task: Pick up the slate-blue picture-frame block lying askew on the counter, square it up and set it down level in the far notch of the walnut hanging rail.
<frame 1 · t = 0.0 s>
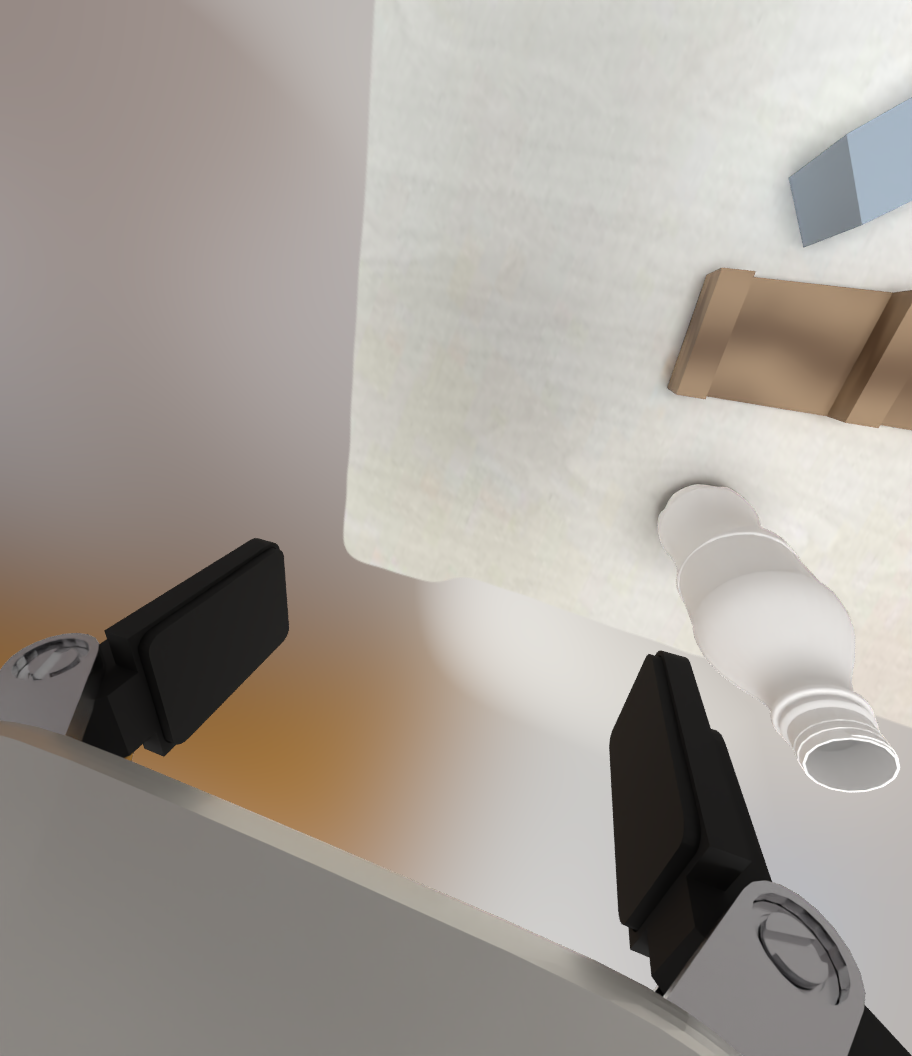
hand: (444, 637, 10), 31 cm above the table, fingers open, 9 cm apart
rail: (861, 359, 30), on the table
water bottle: (696, 513, 38), on the table
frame: (861, 179, 26), on the table
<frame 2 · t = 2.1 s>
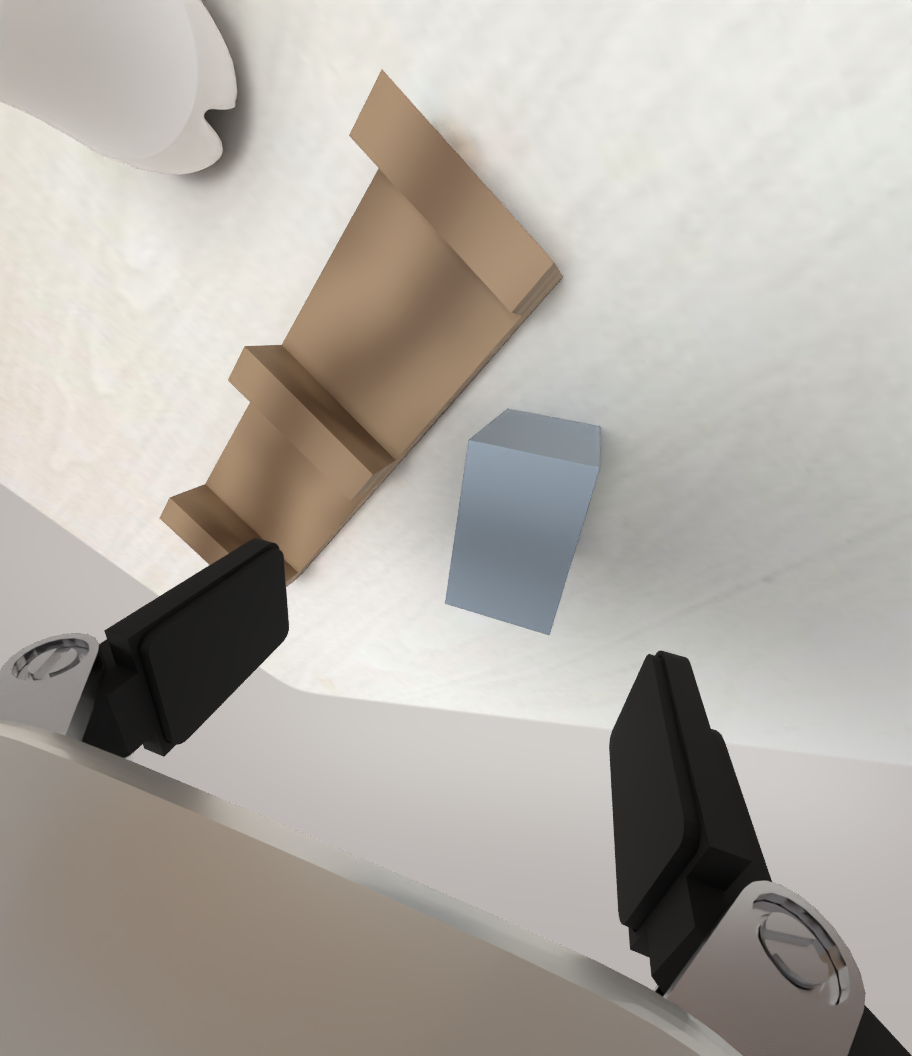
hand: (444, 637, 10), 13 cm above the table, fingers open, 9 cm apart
rail: (345, 413, 23), on the table
water bottle: (192, 92, 19), on the table
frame: (536, 485, 21), on the table
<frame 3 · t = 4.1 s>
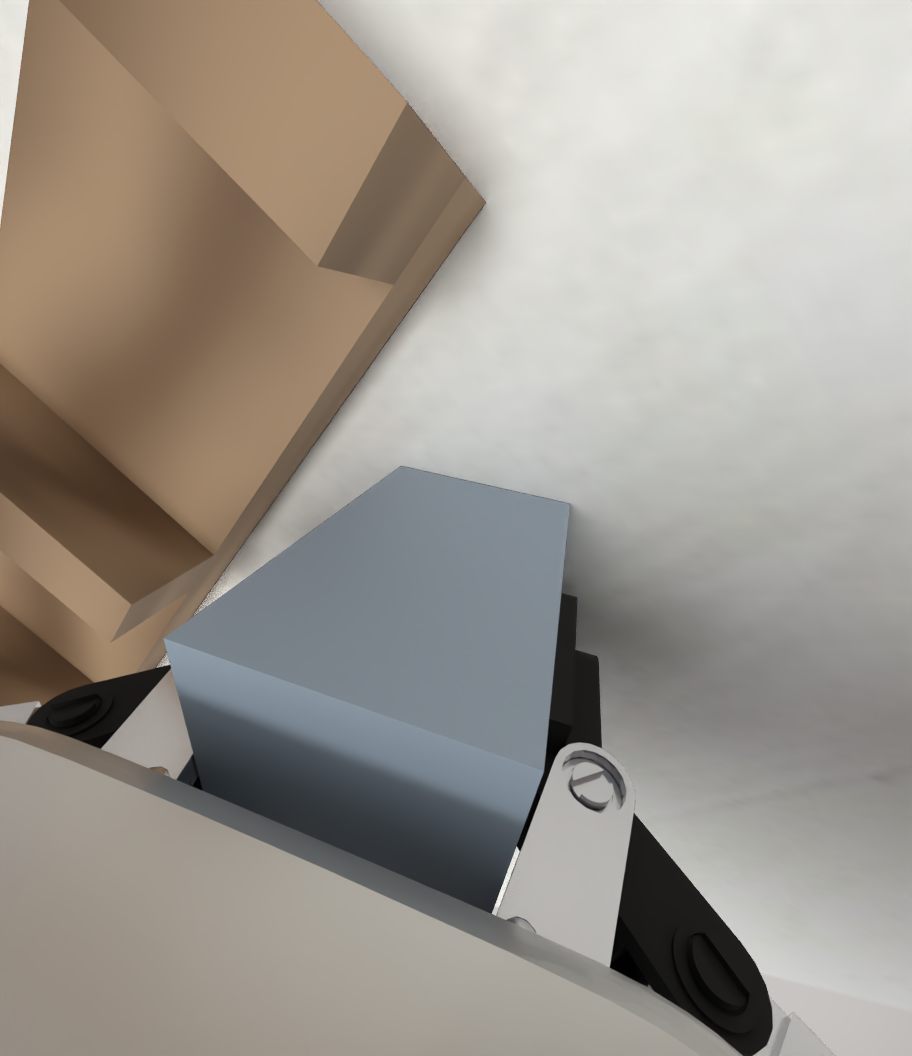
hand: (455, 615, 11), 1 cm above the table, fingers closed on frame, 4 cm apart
rail: (143, 464, 13), on the table
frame: (463, 596, 12), on the table, touching gripper
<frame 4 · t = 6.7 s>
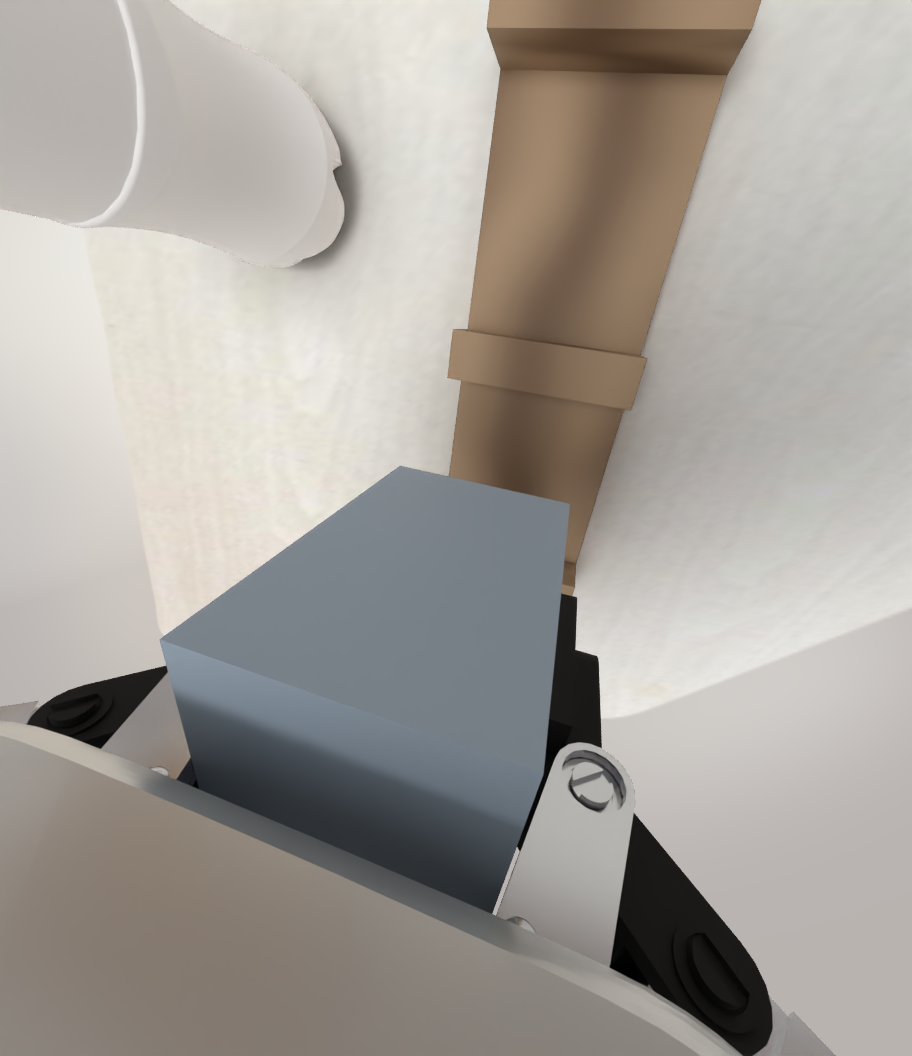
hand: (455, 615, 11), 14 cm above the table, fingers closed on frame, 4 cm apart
rail: (548, 362, 21), on the table
water bottle: (301, 192, 21), on the table
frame: (462, 596, 12), point 13 cm above the table, touching gripper
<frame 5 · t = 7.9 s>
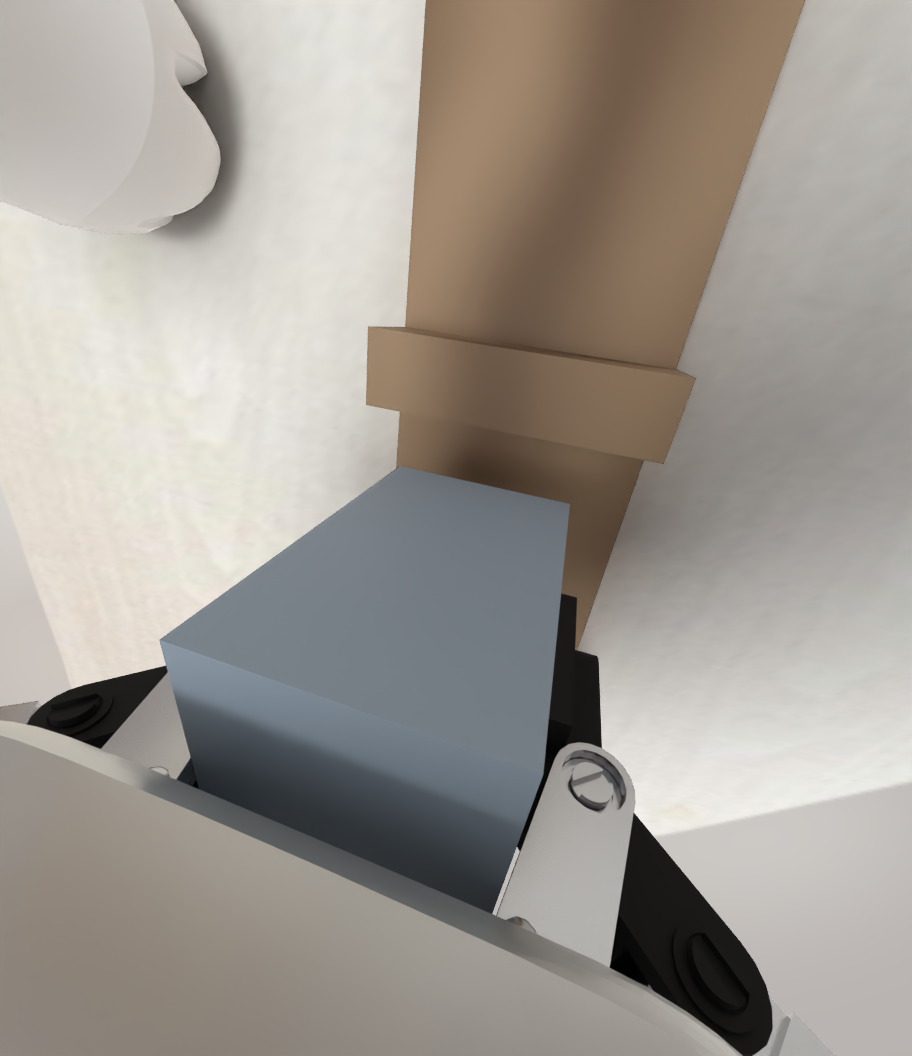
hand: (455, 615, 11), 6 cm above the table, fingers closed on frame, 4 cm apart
rail: (531, 377, 14), on the table
water bottle: (161, 122, 14), on the table
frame: (462, 596, 12), point 5 cm above the table, touching gripper
when the fingers open (4 cm above the table, at t = 9.2 s): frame drops 1 cm, resting on rail.
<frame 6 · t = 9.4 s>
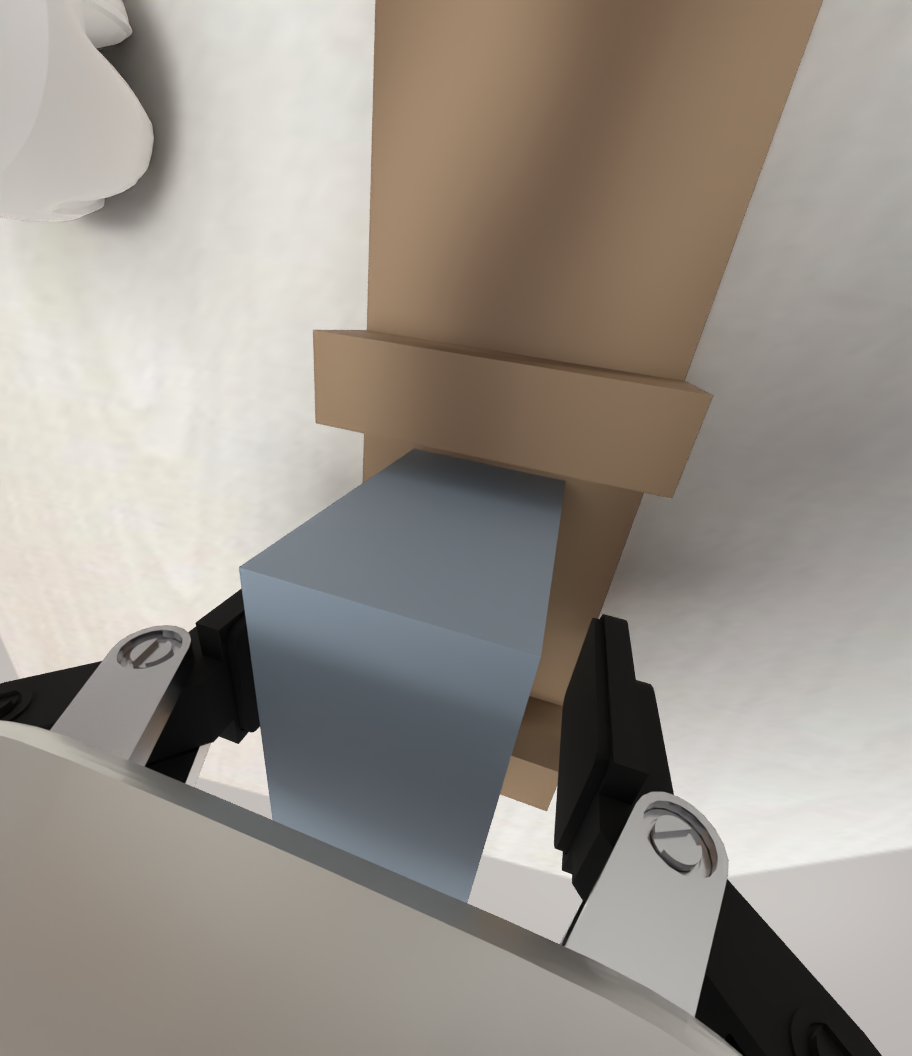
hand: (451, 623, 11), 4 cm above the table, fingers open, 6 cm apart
rail: (515, 388, 12), on the table
water bottle: (86, 92, 12), on the table
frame: (469, 568, 13), point 1 cm above the table, touching rail
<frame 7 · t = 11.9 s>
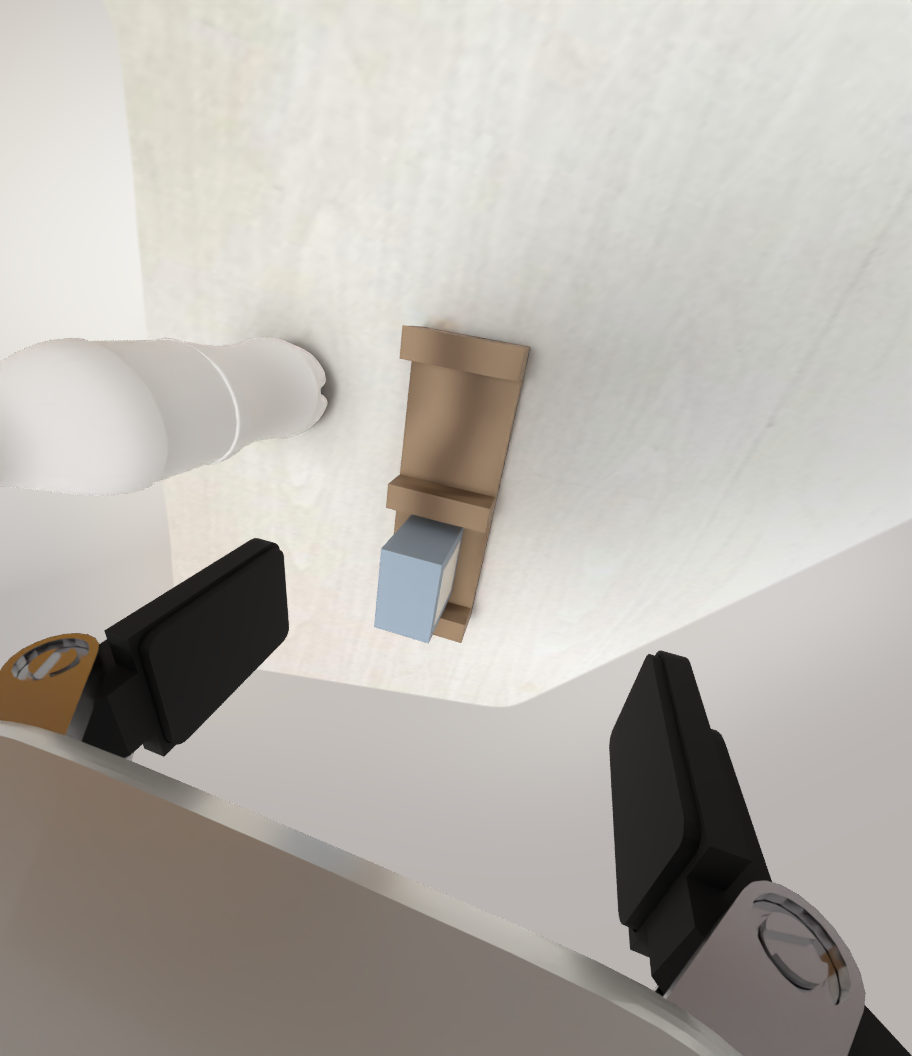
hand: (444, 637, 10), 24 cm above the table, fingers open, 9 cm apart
rail: (449, 491, 35), on the table
water bottle: (300, 384, 35), on the table
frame: (433, 553, 36), point 1 cm above the table, touching rail
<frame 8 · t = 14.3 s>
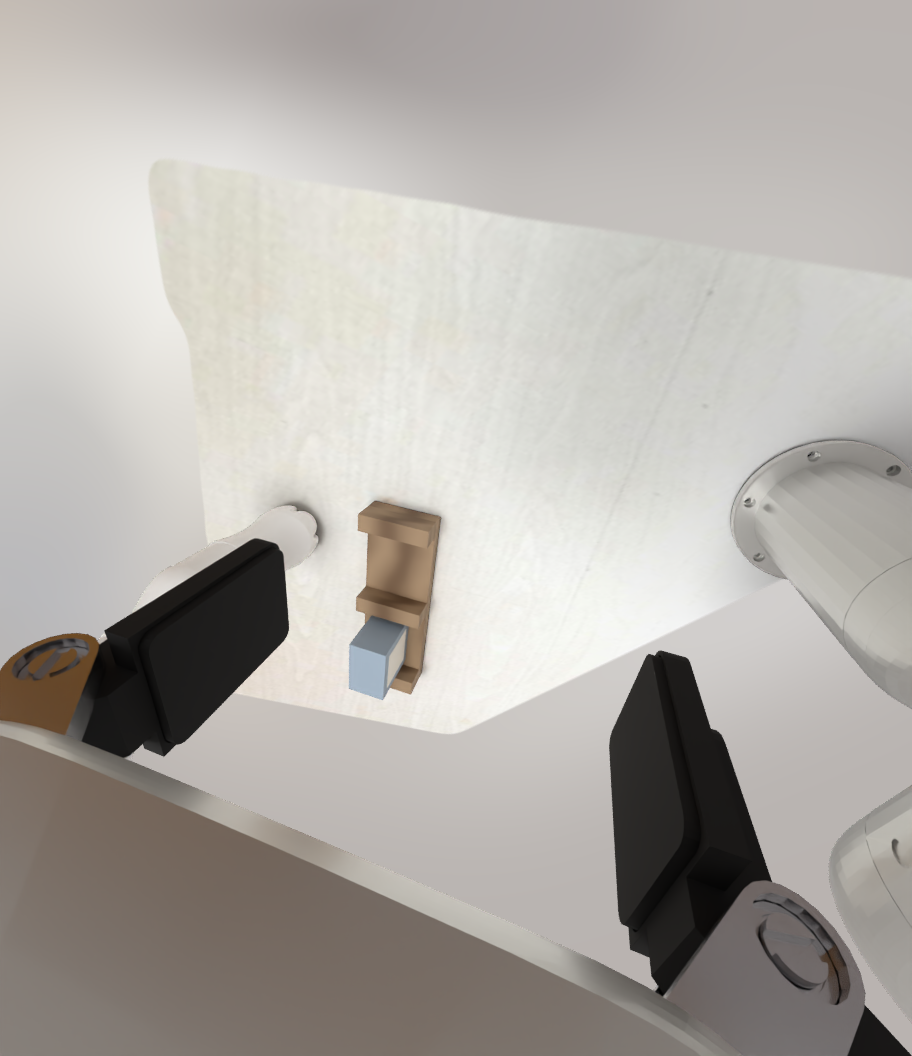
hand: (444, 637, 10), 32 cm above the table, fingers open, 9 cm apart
rail: (400, 594, 52), on the table
water bottle: (301, 525, 52), on the table
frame: (391, 634, 54), point 1 cm above the table, touching rail
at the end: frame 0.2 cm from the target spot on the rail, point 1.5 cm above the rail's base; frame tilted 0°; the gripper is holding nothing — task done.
